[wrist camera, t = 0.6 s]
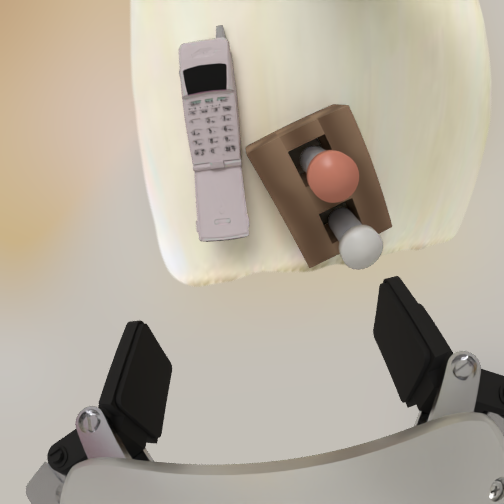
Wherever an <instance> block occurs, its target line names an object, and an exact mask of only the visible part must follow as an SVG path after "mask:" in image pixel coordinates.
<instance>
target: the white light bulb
mask: <svg viewBox="0 0 504 504" xmlns="http://www.w3.org/2000/svg"><path fill="white" fill-rule="evenodd" d="M328 224H329V227H330V228H331V230H332V231H333V233H334V235H335V236H336V238H337V239H338V241H339V253H340V255H341V257H342V259H343V261H344V262H345V264H346V265H347V266H348V267H350V268H352V269H364V268H367V267H369V266H371V265H372V264H374V263H375V262H376V261H377V260H378V258H379V257H380V255H381V253H382V249H383V242H382V239H381V237H380V236H379V234H378V233H377V232H376V231H375V230H374V229H373V228H372V227H370V226H368V225H362V223H361V222H360V221H359V220H358V219H357V218H356V217H355V215H354V214H353V213H352V212H351V211H350V210H349V209H347V208H345V207H340V208H337V209H335V210H333V211H332V212H331V214H330V215H329V218H328Z"/></svg>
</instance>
